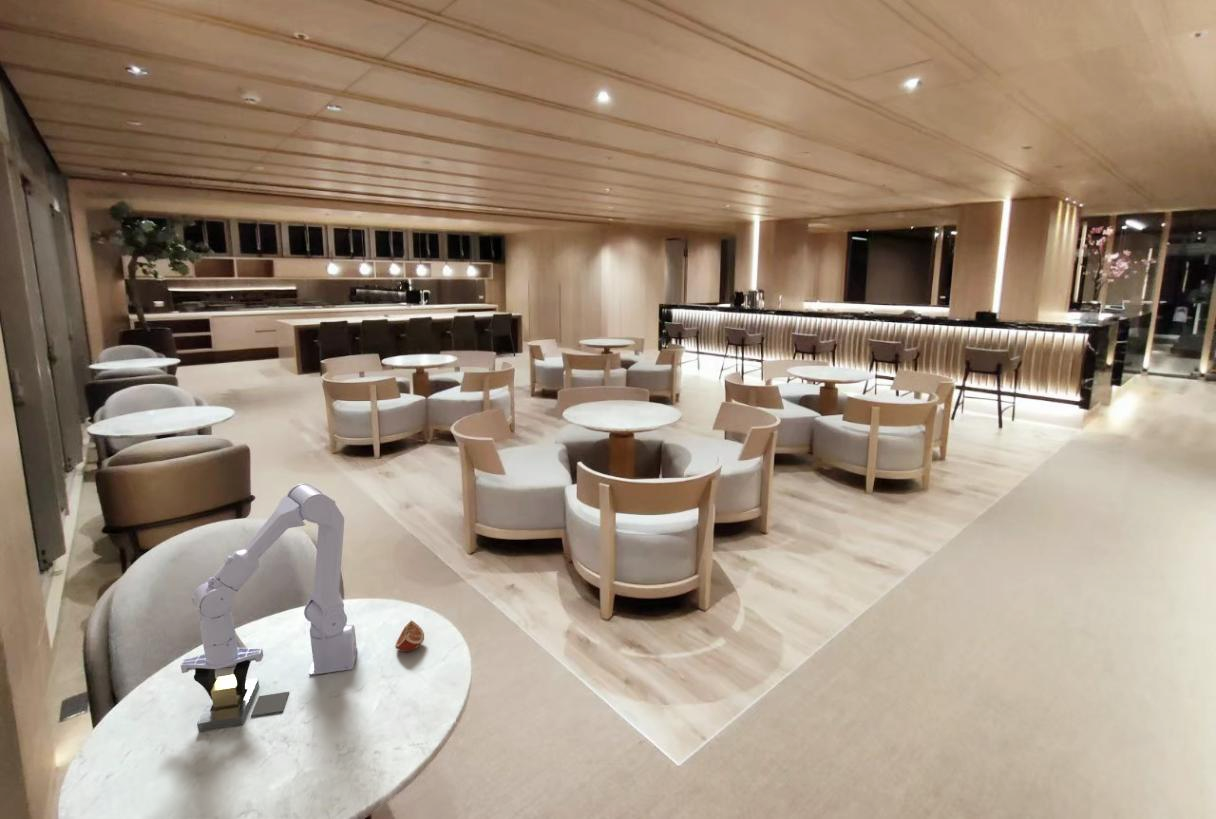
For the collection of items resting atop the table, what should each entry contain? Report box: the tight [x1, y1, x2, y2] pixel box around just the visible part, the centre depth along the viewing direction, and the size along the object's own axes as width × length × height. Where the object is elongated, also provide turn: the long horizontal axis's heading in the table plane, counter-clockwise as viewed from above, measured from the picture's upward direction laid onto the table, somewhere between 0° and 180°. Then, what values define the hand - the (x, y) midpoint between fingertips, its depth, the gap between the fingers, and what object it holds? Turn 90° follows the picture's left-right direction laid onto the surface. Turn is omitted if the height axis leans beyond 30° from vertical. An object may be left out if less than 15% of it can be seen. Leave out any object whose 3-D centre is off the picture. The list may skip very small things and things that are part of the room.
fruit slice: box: [395, 619, 425, 652], centre depth 150 cm, size 8×7×5 cm
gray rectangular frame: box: [196, 678, 260, 733], centre depth 130 cm, size 8×12×2 cm, turn 15°
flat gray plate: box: [250, 691, 290, 718], centre depth 131 cm, size 6×6×1 cm
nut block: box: [211, 674, 245, 711], centre depth 129 cm, size 4×4×6 cm
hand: (228, 694), depth 129 cm, fingers closed on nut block, 4 cm apart
